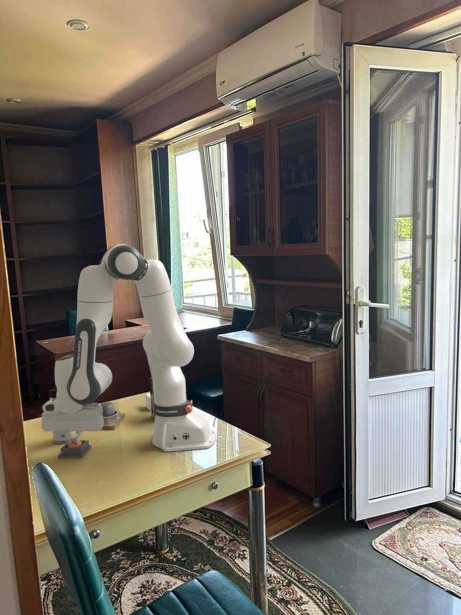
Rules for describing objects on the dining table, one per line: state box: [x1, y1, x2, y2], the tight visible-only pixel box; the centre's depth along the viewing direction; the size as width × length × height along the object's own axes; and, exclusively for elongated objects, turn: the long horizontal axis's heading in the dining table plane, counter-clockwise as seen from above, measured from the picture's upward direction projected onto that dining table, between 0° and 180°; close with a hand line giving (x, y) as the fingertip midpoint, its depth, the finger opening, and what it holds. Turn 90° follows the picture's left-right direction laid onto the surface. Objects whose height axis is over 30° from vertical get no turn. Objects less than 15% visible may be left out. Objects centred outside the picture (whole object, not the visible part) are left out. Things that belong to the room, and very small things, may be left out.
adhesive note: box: [145, 392, 151, 412], centre depth 198 cm, size 6×6×6 cm
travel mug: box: [49, 386, 73, 445], centre depth 166 cm, size 6×7×20 cm
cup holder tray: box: [98, 401, 126, 431], centre depth 182 cm, size 22×13×8 cm, turn 86°
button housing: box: [58, 439, 92, 459], centre depth 157 cm, size 8×8×3 cm
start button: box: [68, 439, 82, 448], centre depth 157 cm, size 4×4×2 cm
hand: (74, 442), depth 156 cm, fingers closed, pressing on start button
